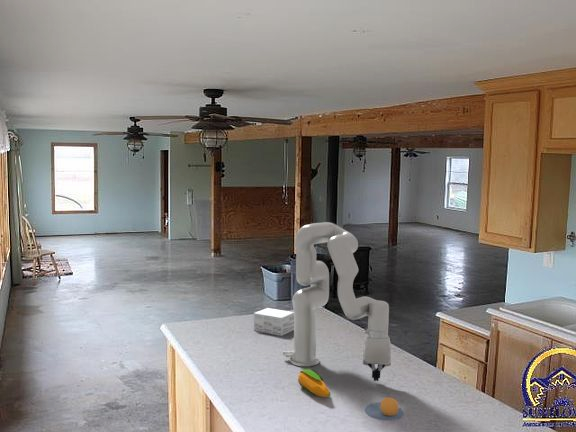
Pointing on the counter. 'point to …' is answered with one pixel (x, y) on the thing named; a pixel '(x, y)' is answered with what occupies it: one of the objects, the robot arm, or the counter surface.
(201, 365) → the counter surface
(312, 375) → the corn
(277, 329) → the supplement box
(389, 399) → the ball
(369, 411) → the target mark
